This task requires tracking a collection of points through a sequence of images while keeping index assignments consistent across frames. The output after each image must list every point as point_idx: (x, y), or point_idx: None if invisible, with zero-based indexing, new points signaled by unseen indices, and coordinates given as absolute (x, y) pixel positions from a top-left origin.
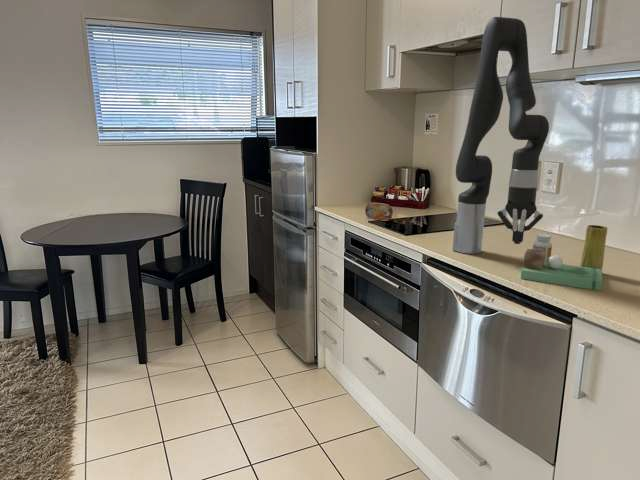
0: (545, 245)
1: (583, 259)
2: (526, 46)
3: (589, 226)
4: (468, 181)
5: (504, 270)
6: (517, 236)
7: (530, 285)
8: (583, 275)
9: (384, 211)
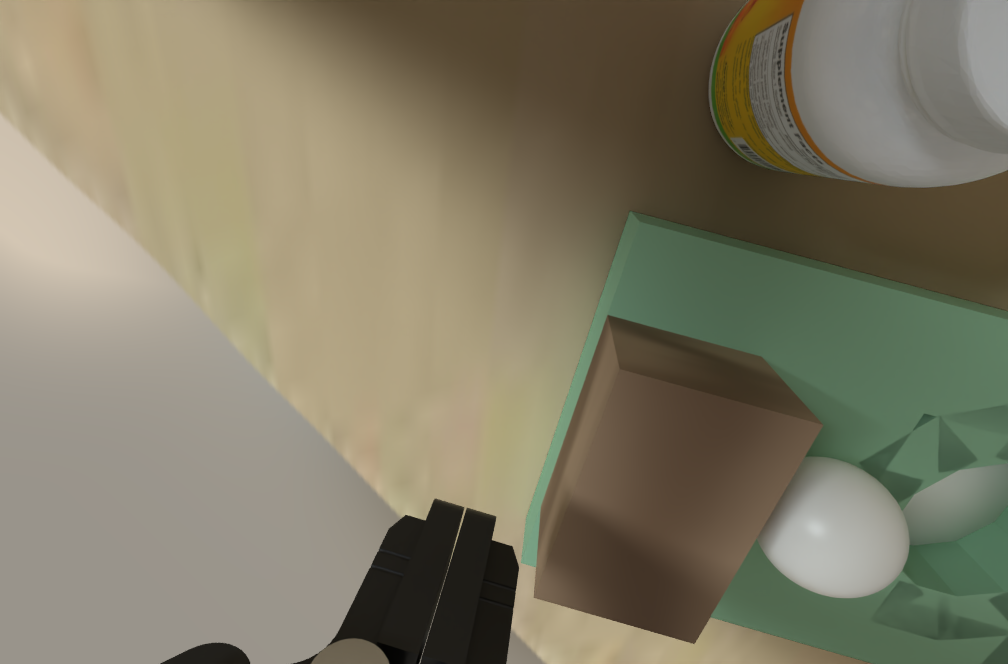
0: (956, 180)
1: None
2: None
3: None
4: None
5: (438, 364)
6: (422, 652)
7: (560, 616)
8: (961, 602)
9: None
